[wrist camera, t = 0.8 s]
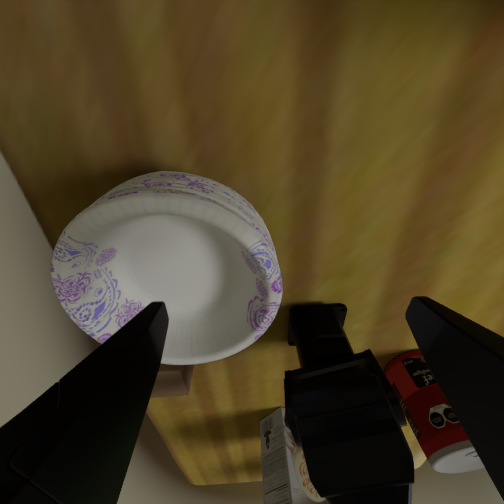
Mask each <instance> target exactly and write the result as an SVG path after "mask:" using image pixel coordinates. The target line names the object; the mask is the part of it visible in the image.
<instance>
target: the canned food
mask: <svg viewBox="0 0 504 504" xmlns="http://www.w3.org/2000/svg"><path fill="white" fill-rule="evenodd" d="M385 374H386V377H387V379H388V381H389V382H390V384H391V386H392V388H393V390H394V392H395V394H396V396H397V398H398V400H399V403H400V405H401V407H402V410H403V413H404V415H405V417H406V419H407V420H408V422H409V424H410V426H411V428H412V430H413V432H414V434H415V436H416V438H417V440H418V442H419V444H420V446H421V448H422V450H423V452H424V454H425V456H426V457H427V459H428V461H429V463H430V464H431V466H432V468H433V469H434V470H435V471H438V472H442V473H460V472H468V471H473V470H477V469H481V468H485V467H484V465H483V463H482V461H481V460H480V458H479V456H478V454H477V453H476V451H475V449H474V447H473V445H472V444H471V442H470V440H469V438H468V437H467V435H466V433H465V431H464V429H463V428H462V426H461V424H460V422H459V421H458V419H457V417H456V415H455V414H454V412H453V410H452V408H451V406H450V405H449V403H448V401H447V399H446V398H445V396H444V394H443V392H442V390H441V389H440V387H439V385H438V383H437V382H436V380H435V378H434V376H433V374H432V373H431V371H430V369H429V367H428V366H427V364H426V362H425V360H424V358H423V356H422V354H421V352H420V350H414V351H410V352H406V353H404V354H401V355H399V356H398V357H396V358H394V359H393V360H392V361H391V362H390V363H389V364H388V365H387V367H386V370H385Z"/></svg>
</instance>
